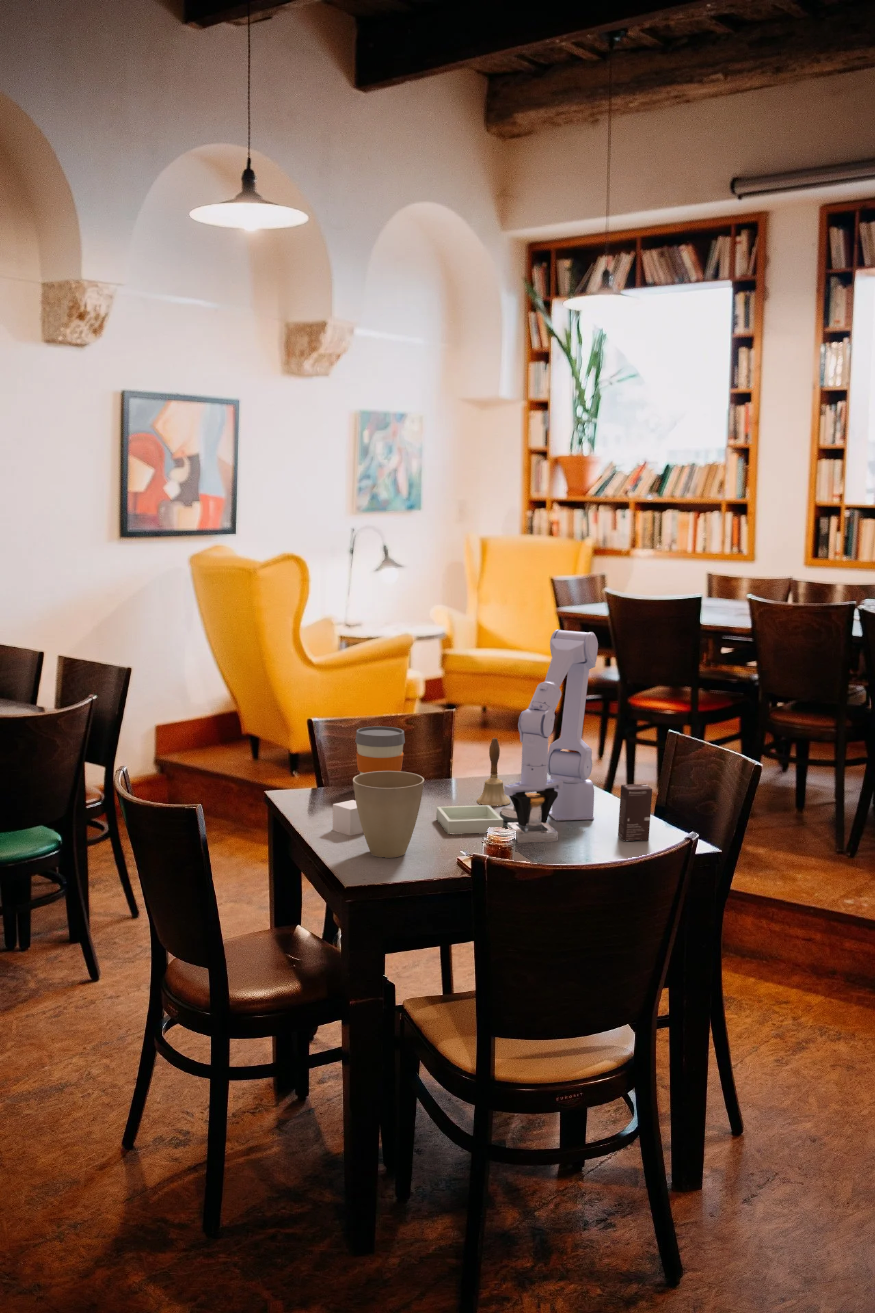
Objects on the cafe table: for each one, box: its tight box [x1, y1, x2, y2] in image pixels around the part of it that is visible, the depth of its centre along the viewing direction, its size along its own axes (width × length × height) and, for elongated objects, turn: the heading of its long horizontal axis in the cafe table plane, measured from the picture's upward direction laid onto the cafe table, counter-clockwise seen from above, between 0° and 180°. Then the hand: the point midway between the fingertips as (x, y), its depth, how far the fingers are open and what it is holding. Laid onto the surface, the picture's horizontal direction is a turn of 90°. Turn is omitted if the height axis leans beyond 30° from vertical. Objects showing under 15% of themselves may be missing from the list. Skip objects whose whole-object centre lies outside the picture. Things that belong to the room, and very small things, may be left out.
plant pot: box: [352, 770, 425, 859], centre depth 256 cm, size 15×15×16 cm
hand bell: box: [476, 737, 511, 807], centre depth 300 cm, size 8×8×16 cm
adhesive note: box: [332, 799, 364, 837], centre depth 273 cm, size 6×6×6 cm
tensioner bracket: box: [499, 805, 559, 844], centre depth 277 cm, size 9×20×4 cm, turn 12°
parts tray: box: [435, 804, 504, 835], centre depth 279 cm, size 13×13×3 cm
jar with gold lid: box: [523, 792, 545, 832], centre depth 272 cm, size 5×5×9 cm
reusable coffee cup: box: [354, 726, 406, 774], centre depth 310 cm, size 13×12×15 cm
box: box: [617, 783, 653, 842], centre depth 271 cm, size 6×4×12 cm
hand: (532, 823), depth 272 cm, fingers closed on jar with gold lid, 5 cm apart
